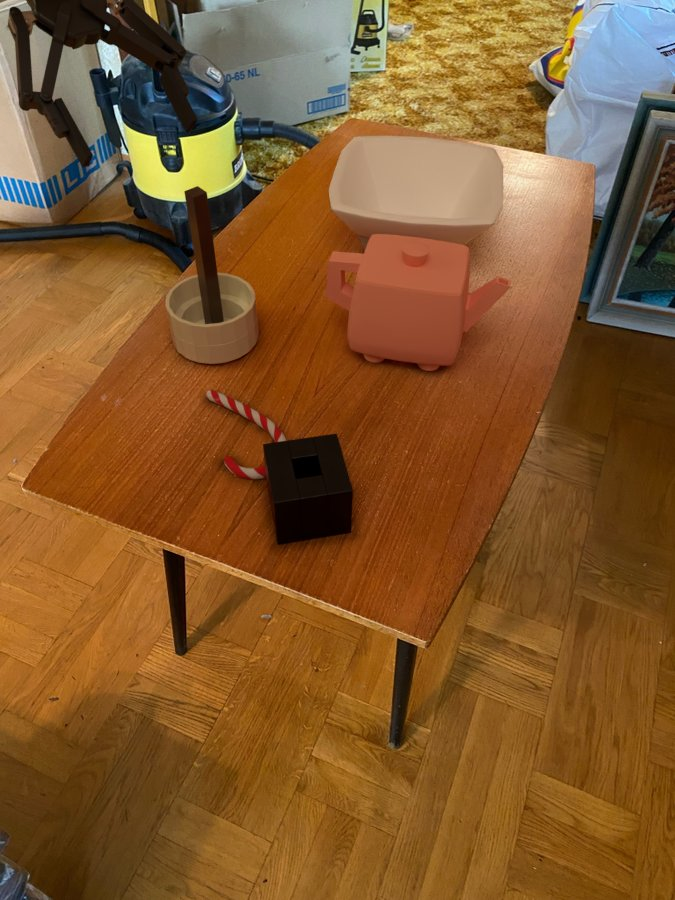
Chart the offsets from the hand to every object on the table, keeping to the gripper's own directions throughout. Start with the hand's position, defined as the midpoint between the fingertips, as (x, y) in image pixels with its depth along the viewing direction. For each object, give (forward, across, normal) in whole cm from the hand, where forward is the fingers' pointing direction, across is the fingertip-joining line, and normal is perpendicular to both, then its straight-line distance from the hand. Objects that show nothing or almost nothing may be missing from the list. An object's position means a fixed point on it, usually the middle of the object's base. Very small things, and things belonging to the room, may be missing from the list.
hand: (142, 143), depth 81 cm
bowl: (+23, -37, -9) cm, 44 cm away
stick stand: (+44, +9, +12) cm, 46 cm away
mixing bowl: (+23, 0, -9) cm, 24 cm away
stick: (+22, 0, -8) cm, 24 cm away
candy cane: (+34, +8, +2) cm, 35 cm away
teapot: (+35, -19, +3) cm, 40 cm away
